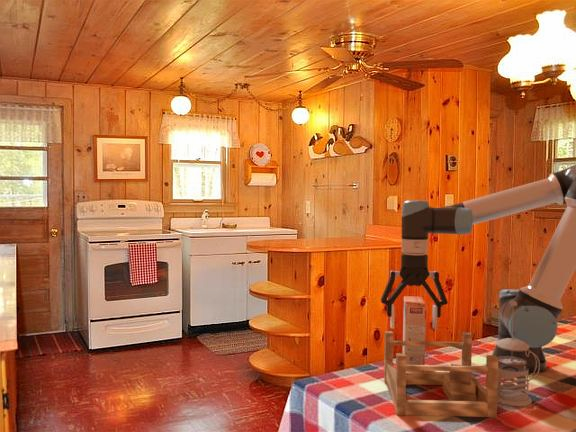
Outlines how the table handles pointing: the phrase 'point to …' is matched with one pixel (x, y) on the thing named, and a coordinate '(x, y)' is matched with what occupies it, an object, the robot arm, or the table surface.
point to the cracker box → (414, 330)
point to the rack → (439, 381)
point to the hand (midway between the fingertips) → (413, 328)
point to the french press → (513, 372)
